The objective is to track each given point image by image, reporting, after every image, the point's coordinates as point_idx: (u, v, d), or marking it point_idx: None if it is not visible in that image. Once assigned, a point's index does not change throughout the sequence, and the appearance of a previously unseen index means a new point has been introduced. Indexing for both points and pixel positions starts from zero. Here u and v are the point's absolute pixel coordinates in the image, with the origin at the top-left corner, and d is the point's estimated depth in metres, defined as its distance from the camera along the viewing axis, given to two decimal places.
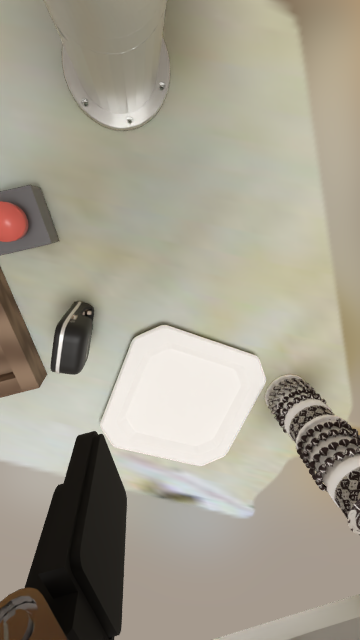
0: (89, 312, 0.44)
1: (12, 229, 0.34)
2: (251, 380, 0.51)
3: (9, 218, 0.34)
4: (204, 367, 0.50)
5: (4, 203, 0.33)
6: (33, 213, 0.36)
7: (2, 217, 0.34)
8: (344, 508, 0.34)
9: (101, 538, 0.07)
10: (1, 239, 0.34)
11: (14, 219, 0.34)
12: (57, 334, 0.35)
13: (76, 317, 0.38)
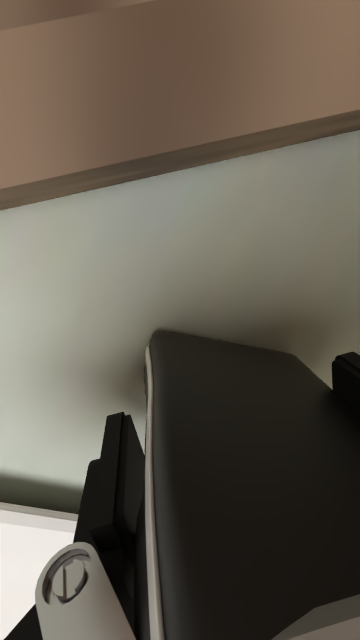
0: None
1: None
2: None
3: None
4: None
5: None
6: None
7: None
8: None
9: (136, 505, 0.08)
10: None
11: None
12: None
13: None
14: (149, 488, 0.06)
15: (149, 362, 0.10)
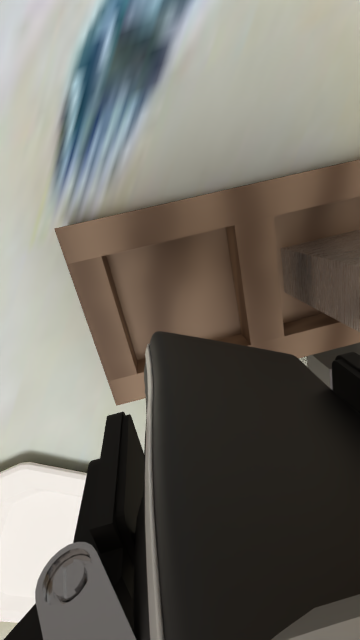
0: None
1: None
2: None
3: None
4: None
5: None
6: None
7: None
8: None
9: (136, 505, 0.08)
10: None
11: None
12: None
13: None
14: (149, 488, 0.06)
15: (149, 362, 0.10)
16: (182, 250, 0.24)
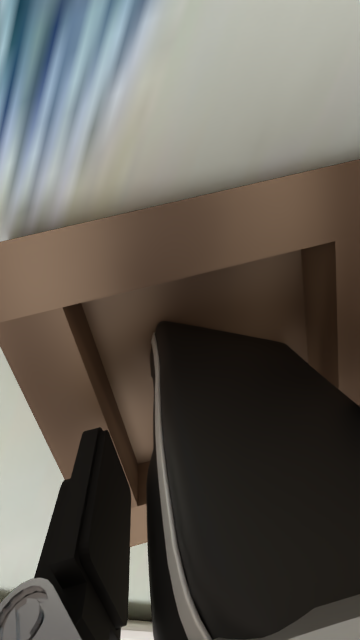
0: None
1: None
2: None
3: None
4: None
5: None
6: None
7: None
8: None
9: (108, 531, 0.07)
10: None
11: None
12: None
13: None
14: (159, 437, 0.07)
15: (155, 347, 0.12)
16: (219, 284, 0.13)
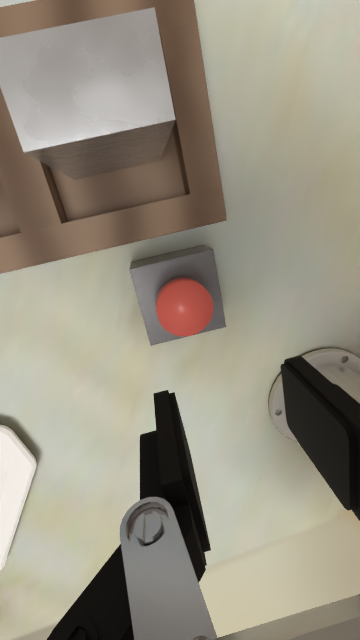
0: None
1: (175, 321, 0.23)
2: None
3: (189, 318, 0.23)
4: None
5: (210, 315, 0.23)
6: None
7: (191, 310, 0.23)
8: None
9: (191, 471, 0.08)
10: (160, 304, 0.22)
11: (188, 325, 0.23)
12: None
13: None
14: None
15: None
16: None
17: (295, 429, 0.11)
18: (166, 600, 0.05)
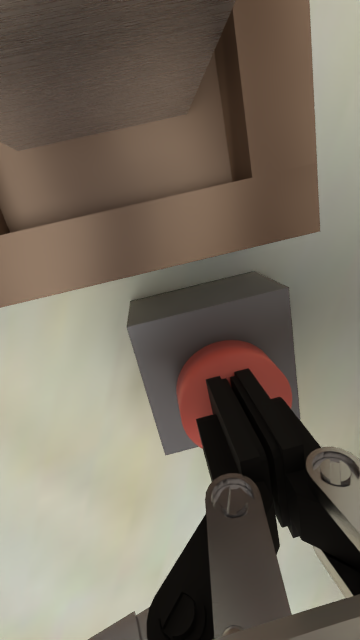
0: None
1: None
2: None
3: None
4: None
5: None
6: None
7: None
8: None
9: None
10: (188, 401, 0.11)
11: None
12: None
13: None
14: None
15: None
16: None
17: None
18: (245, 574, 0.05)
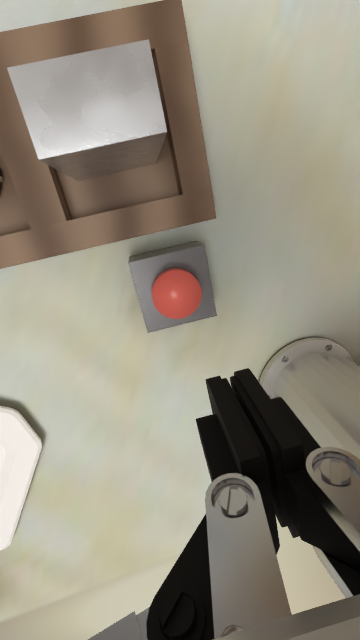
0: None
1: (168, 305, 0.26)
2: None
3: (181, 303, 0.26)
4: None
5: (199, 300, 0.26)
6: None
7: (182, 295, 0.26)
8: None
9: None
10: (155, 290, 0.26)
11: (180, 309, 0.27)
12: None
13: None
14: None
15: None
16: None
17: None
18: (245, 574, 0.05)
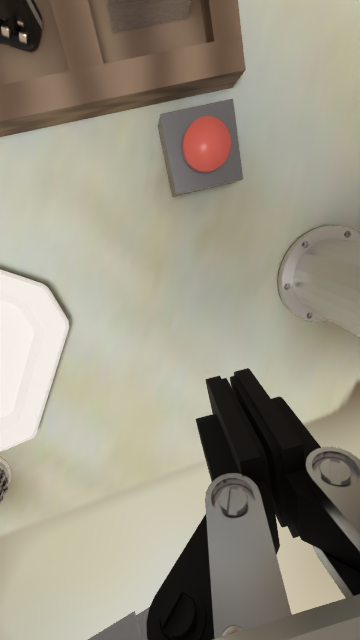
0: (23, 38, 0.25)
1: (198, 154, 0.27)
2: None
3: (211, 153, 0.27)
4: (9, 375, 0.37)
5: (228, 151, 0.28)
6: (212, 177, 0.30)
7: (212, 144, 0.27)
8: None
9: None
10: (187, 137, 0.27)
11: (210, 160, 0.28)
12: None
13: None
14: None
15: None
16: None
17: None
18: (245, 574, 0.05)
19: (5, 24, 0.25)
